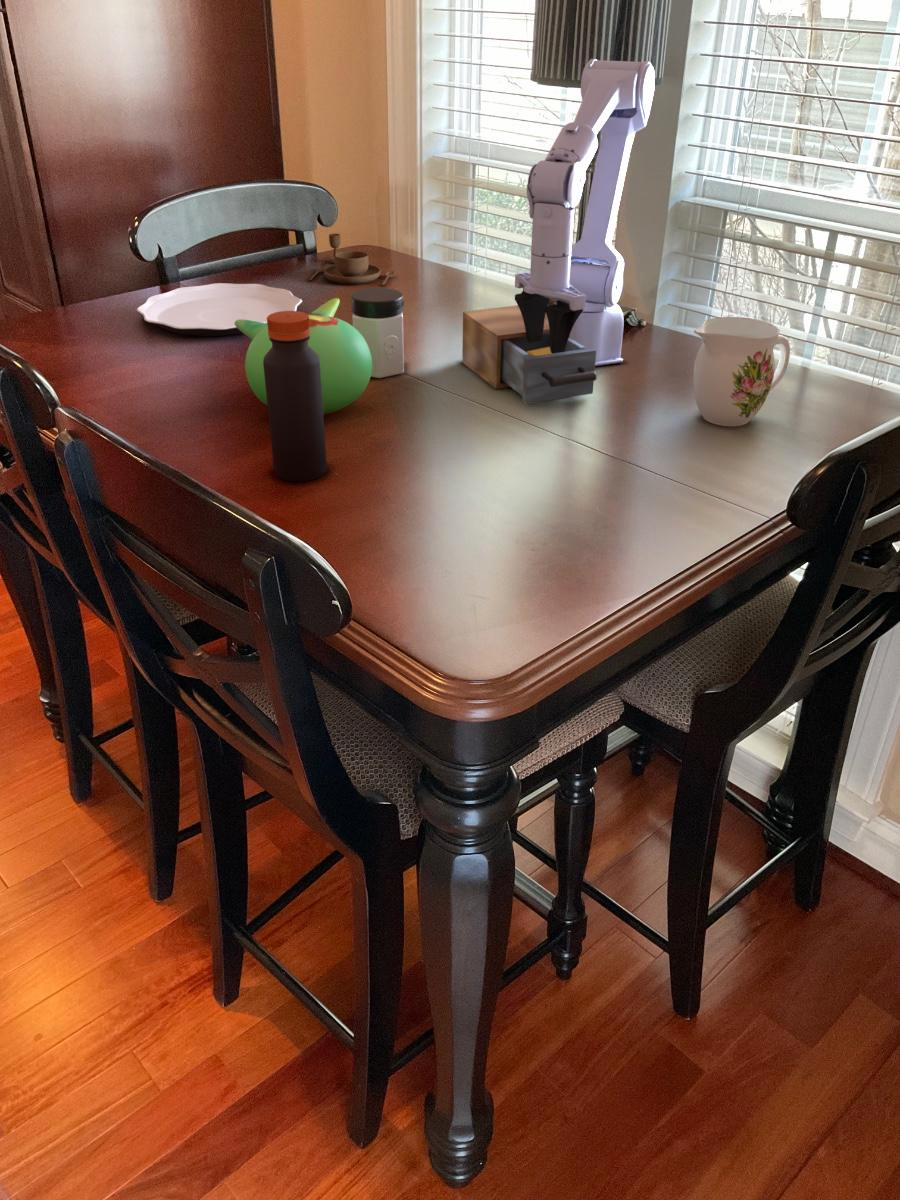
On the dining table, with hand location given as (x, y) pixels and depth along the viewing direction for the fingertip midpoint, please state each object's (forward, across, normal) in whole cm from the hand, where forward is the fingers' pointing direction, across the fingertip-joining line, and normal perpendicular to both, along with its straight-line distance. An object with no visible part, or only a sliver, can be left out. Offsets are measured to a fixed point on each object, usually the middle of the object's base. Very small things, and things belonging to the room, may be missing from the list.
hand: (545, 346), depth 146 cm
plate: (+7, -62, -28) cm, 69 cm away
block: (+5, 0, 0) cm, 5 cm away
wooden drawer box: (+7, -10, +2) cm, 13 cm away
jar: (+7, -22, -17) cm, 29 cm away
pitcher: (+7, +22, +18) cm, 29 cm away
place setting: (+7, -78, +8) cm, 79 cm away
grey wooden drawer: (+6, +1, 0) cm, 6 cm away
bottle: (+7, +7, -44) cm, 45 cm away
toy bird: (+7, -12, -34) cm, 36 cm away
